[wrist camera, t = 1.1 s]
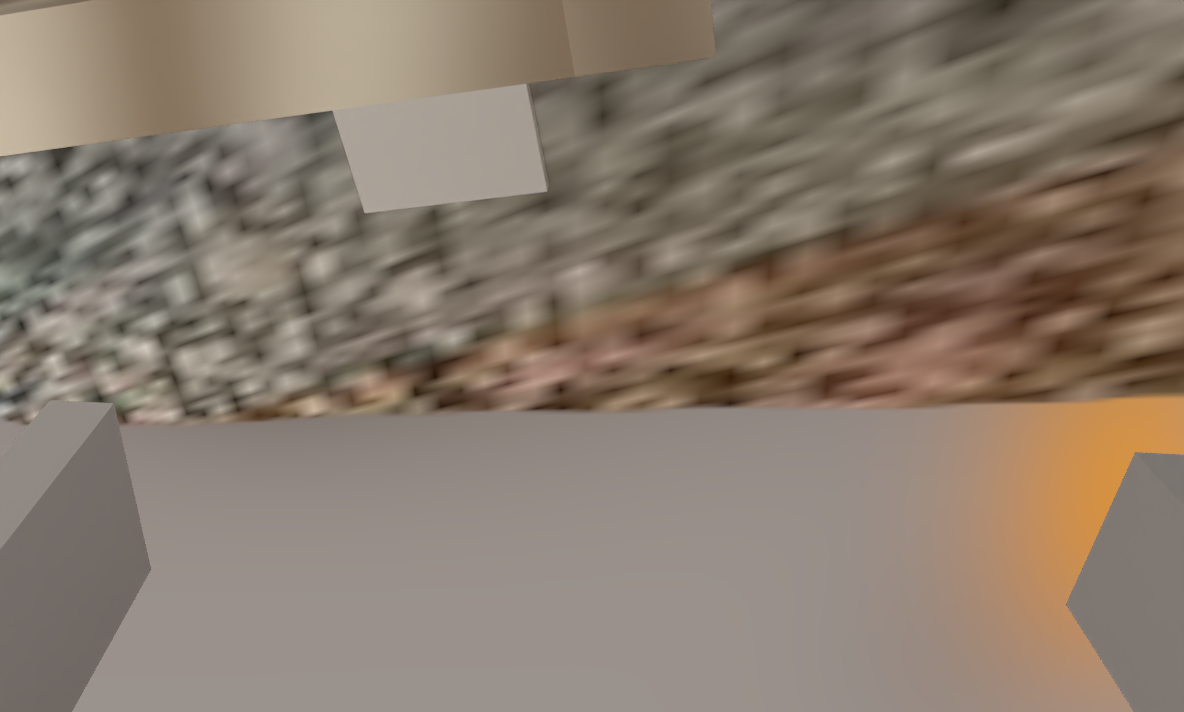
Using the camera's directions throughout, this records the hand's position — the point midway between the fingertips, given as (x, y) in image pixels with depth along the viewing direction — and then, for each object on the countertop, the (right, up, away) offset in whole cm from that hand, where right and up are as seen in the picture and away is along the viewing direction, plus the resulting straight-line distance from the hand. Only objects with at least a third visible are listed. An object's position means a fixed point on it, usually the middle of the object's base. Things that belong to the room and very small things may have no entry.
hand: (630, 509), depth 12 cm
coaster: (-8, +15, +34) cm, 38 cm away
